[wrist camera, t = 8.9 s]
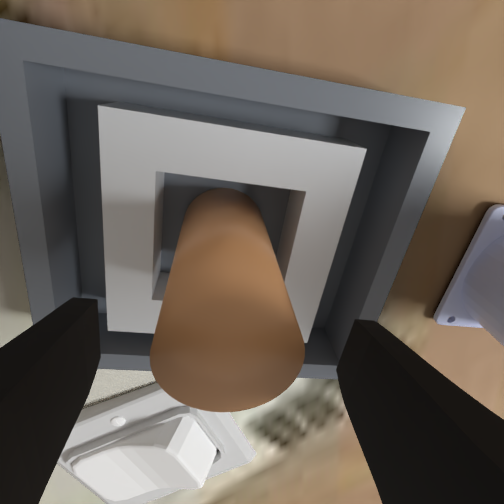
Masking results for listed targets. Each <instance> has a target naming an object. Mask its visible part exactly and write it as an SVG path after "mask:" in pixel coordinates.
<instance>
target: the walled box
mask: <svg viewBox="0 0 504 504" xmlns="http://www.w3.org/2000/svg"><path fill="white" fill-rule="evenodd" d="M465 109H466V108H465V107H460V106H455V105H450V104H445V103H439V102H434V101H429V100H424V99H418V98H413V97H408V96H403V95H398V94H392V93H387V92H382V91H377V90H372V89H366V88H361V87H356V86H351V85H346V84H340V83H335V82H330V81H325V80H319V79H314V78H309V77H304V76H299V75H293V74H288V73H283V72H278V71H273V70H267V69H262V68H257V67H252V66H247V65H241V64H236V63H231V62H226V61H221V60H215V59H210V58H205V57H200V56H194V55H189V54H184V53H179V52H174V51H168V50H163V49H158V48H153V47H148V46H142V45H137V44H132V43H127V42H122V41H116V40H111V39H106V38H101V37H95V36H90V35H85V34H80V33H75V32H69V31H64V30H59V29H54V28H49V27H43V26H38V25H33V24H28V23H23V22H17V21H12V20H7V19H2V18H0V135H1V140H2V146H3V152H4V158H5V164H6V170H7V175H8V181H9V187H10V193H11V199H12V205H13V210H14V216H15V222H16V228H17V234H18V240H19V245H20V251H21V257H22V263H23V269H24V275H25V280H26V286H27V292H28V298H29V304H30V310H31V315H32V321H33V325H34V324H36V323H37V322H38V321H40V320H41V319H43V318H44V317H45V316H47V315H48V314H50V313H51V312H52V311H54V310H55V309H57V308H58V307H59V306H61V305H62V304H64V303H65V302H66V301H68V300H69V299H71V298H72V297H77V298H89V299H98V316H99V334H100V351H101V359H100V362H99V365H98V368H97V369H116V370H139V371H152V370H151V366H150V349H151V345H152V341H153V337H154V333H155V329H156V325H157V321H158V318H159V314H160V310H161V306H162V302H163V298H164V294H165V290H166V286H167V282H168V278H169V274H170V270H171V266H172V263H173V259H174V255H175V251H176V247H177V243H178V239H179V235H180V231H181V227H182V223H183V219H184V216H185V212H186V210H187V208H188V206H189V205H190V203H191V202H192V201H193V200H194V199H195V198H196V197H197V196H199V195H200V194H202V193H204V192H206V191H208V190H211V189H216V188H230V189H235V190H238V191H240V192H242V193H244V194H246V195H247V196H249V197H250V198H251V199H252V200H253V201H254V202H255V203H256V205H257V206H258V208H259V210H260V212H261V214H262V217H263V220H264V223H265V226H266V229H267V232H268V235H269V238H270V241H271V244H272V247H273V250H274V253H275V256H276V259H277V262H278V265H279V268H280V271H281V274H282V277H283V280H284V283H285V286H286V289H287V292H288V295H289V298H290V301H291V304H292V307H293V310H294V313H295V316H296V319H297V322H298V325H299V328H300V331H301V334H302V337H303V340H304V345H305V358H304V362H303V366H302V368H301V371H300V373H299V374H298V376H297V378H319V379H338V376H337V372H336V368H337V365H338V363H339V360H340V357H341V355H342V352H343V350H344V347H345V344H346V342H347V339H348V336H349V334H350V331H351V328H352V326H353V323H354V320H355V319H361V320H374V321H376V322H377V320H378V318H379V316H380V313H381V311H382V308H383V306H384V304H385V301H386V299H387V296H388V294H389V292H390V289H391V287H392V284H393V282H394V280H395V277H396V275H397V272H398V270H399V268H400V265H401V263H402V260H403V258H404V256H405V253H406V251H407V248H408V246H409V244H410V241H411V239H412V236H413V234H414V232H415V229H416V227H417V224H418V222H419V220H420V217H421V215H422V212H423V210H424V208H425V205H426V203H427V200H428V198H429V195H430V193H431V191H432V188H433V186H434V183H435V181H436V179H437V176H438V174H439V171H440V169H441V167H442V164H443V162H444V159H445V157H446V155H447V152H448V150H449V147H450V145H451V143H452V140H453V138H454V135H455V133H456V131H457V128H458V126H459V123H460V121H461V119H462V116H463V114H464V111H465Z"/></svg>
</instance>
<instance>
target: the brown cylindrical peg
mask: <svg viewBox="0 0 504 504" xmlns="http://www.w3.org/2000/svg"><path fill="white" fill-rule="evenodd" d="M304 358H305V345H304V340H303V337H302V334H301V331H300V328H299V325H298V322H297V319H296V316H295V313H294V310H293V307H292V304H291V301H290V298H289V295H288V292H287V289H286V286H285V283H284V280H283V277H282V274H281V271H280V268H279V265H278V262H277V259H276V256H275V253H274V250H273V247H272V244H271V241H270V238H269V235H268V232H267V229H266V226H265V223H264V220H263V217H262V214H261V212H260V210H259V208H258V206H257V205H256V203H255V202H254V201H253V200H252V199H251V198H250V197H249V196H247V195H246V194H244V193H242V192H240V191H238V190H235V189H230V188H216V189H211V190H208V191H206V192H204V193H202V194H200V195H199V196H197V197H196V198H195V199H194V200H193V201H192V202H191V203H190V205H189V206H188V208H187V210H186V212H185V216H184V219H183V223H182V227H181V231H180V235H179V239H178V243H177V247H176V251H175V255H174V259H173V263H172V266H171V270H170V274H169V278H168V282H167V286H166V290H165V294H164V298H163V302H162V306H161V310H160V314H159V318H158V321H157V325H156V329H155V333H154V337H153V341H152V345H151V349H150V366H151V370H152V373H153V375H154V378H155V380H156V381H157V383H158V384H159V386H160V387H161V388H162V389H163V390H164V391H165V392H166V393H167V394H168V395H169V396H171V397H172V398H174V399H175V400H177V401H178V402H180V403H182V404H184V405H187V406H190V407H192V408H196V409H199V410H204V411H210V412H235V411H242V410H247V409H250V408H254V407H257V406H260V405H262V404H265V403H267V402H269V401H271V400H272V399H274V398H276V397H277V396H279V395H280V394H281V393H283V392H284V391H285V390H286V389H287V388H288V387H289V386H290V385H291V384H292V383H293V382H294V380H295V379H296V378H297V376H298V374H299V373H300V371H301V368H302V366H303V362H304Z"/></svg>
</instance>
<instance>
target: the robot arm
mask: <svg viewBox="0 0 504 504" xmlns="http://www.w3.org/2000/svg"><path fill="white" fill-rule="evenodd" d="M503 215H504V205H501V204H495V205H493V206H491V207H490V208H489V209H488V210H487V212H486V213H485V215H484V217H483V219H482V221H481V223H480V225H479V227H478V229H477V231H476V233H475V235H474V237H473V239H472V241H471V243H470V245H469V247H468V249H467V251H466V253H465V255H464V257H463V259H462V261H461V263H460V265H459V267H458V269H457V271H456V273H455V275H454V277H453V279H452V280H451V282H450V284H449V286H448V288H447V290H446V292H445V294H444V296H443V298H442V300H441V302H440V304H439V306H438V308H437V310H436V312H435V314H434V317H433V318H434V320H435V321H436V322H437V323H438V324H440V325H451V326H464V327H477V328H484V329H486V330H487V331H488V332H489V333H490V334H491V335H492V336H493V337H494V338H495V339H496V340H497V341H499V342H500V343H501V344H502V345H503V346H504V217H503ZM449 317H450V318H449ZM100 359H101V351H100V334H99V316H98V299H89V298H77V297H72V298H71V299H69V300H68V301H66V302H65V303H64V304H62V305H61V306H59V307H58V308H57V309H55V310H54V311H52V312H51V313H50V314H48V315H47V316H45V317H44V318H43V319H41V320H40V321H38V322H37V323H36V324H34V325H33V326H31V327H30V328H29V329H27V330H26V331H24V332H23V333H21V334H20V335H18V336H17V337H16V338H14V339H13V340H11V341H10V342H8V343H7V344H5V345H4V346H3V347H1V348H0V504H39V501H40V499H41V497H42V494H43V492H44V490H45V487H46V485H47V483H48V481H49V479H50V477H51V474H52V472H53V470H54V468H55V466H56V464H57V462H58V460H59V457H60V455H61V453H62V451H63V449H64V447H65V445H66V442H67V440H68V438H69V436H70V434H71V432H72V430H73V428H74V425H75V423H76V421H77V419H78V417H79V415H80V412H81V410H82V408H83V406H84V404H85V402H86V399H87V397H88V395H89V392H90V389H91V386H92V383H93V380H94V378H95V374H96V371H97V368H98V365H99V362H100ZM336 372H337V376H338V381H339V385H340V389H341V393H342V397H343V400H344V404H345V407H346V409H347V412H348V415H349V417H350V420H351V423H352V425H353V428H354V430H355V433H356V435H357V438H358V441H359V443H360V446H361V448H362V451H363V453H364V456H365V458H366V461H367V463H368V466H369V469H370V471H371V474H372V476H373V479H374V481H375V484H376V487H377V489H378V492H379V495H380V498H381V501H382V504H504V420H503V419H502V418H500V417H499V416H498V415H496V414H495V413H493V412H492V411H490V410H489V409H488V408H486V407H485V406H483V405H482V404H481V403H479V402H478V401H477V400H475V399H474V398H473V397H471V396H470V395H469V394H467V393H466V392H465V391H463V390H462V389H461V388H459V387H458V386H457V385H455V384H454V383H453V382H451V381H450V380H449V379H448V378H446V377H445V376H444V375H443V374H441V373H440V372H439V371H437V370H436V369H435V368H434V367H432V366H431V365H430V364H429V363H427V362H426V361H425V360H424V359H423V358H421V357H420V356H419V355H418V354H416V353H415V352H414V351H413V350H412V349H410V348H409V347H408V346H407V345H405V344H404V343H403V342H402V341H400V340H399V339H398V338H397V337H395V336H394V335H393V334H392V333H390V332H389V331H388V330H387V329H385V328H384V327H383V326H381V325H380V324H379V323H377V322H376V321H374V320H361V319H355V320H354V323H353V326H352V328H351V331H350V334H349V336H348V339H347V342H346V344H345V347H344V350H343V352H342V355H341V357H340V360H339V363H338V365H337V368H336Z"/></svg>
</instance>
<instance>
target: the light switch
mask: <svg viewBox="0 0 504 504" xmlns="http://www.w3.org/2000/svg"><path fill="white" fill-rule="evenodd" d="M217 448H218V451H217ZM255 456H256V452H255V450H254V449H253V447H252V446H251V444H250V443H249V441H248V440H247V438H246V436H245V435H244V433H243V432H242V430H241V429H240V427H239V426H238V424H237V423H236V421H235V420H234V418H233V417H232V415H231V414H230V412H210V411H204V410H199V409H196V408H192V407H190V406H187V405H184V404H182V403H180V402H178V401H177V400H175V399H174V398H172V397H171V396H169V395H168V394H167V393H166V392H165V391H164V390H163V389H162V388H161V387H160V386H159V384H158V383H154V384H152V385H149V386H146V387H143V388H140V389H138V390H135V391H132V392H129V393H126V394H124V395H121V396H118V397H115V398H112V399H110V400H107V401H104V402H101V403H98V404H96V405H93V406H90V407H87V408H84V409H82V410H81V412H80V415H79V417H78V419H77V421H76V423H75V425H74V428H73V430H72V432H71V434H70V436H69V438H68V440H67V442H66V445H65V447H64V449H63V451H62V453H61V455H60V457H59V460H58V462H57V464H58V465H59V466H61V467H62V468H63V469H64V470H66V471H67V472H68V473H69V474H70V475H72V476H73V477H74V478H75V479H77V480H78V481H79V482H80V483H81V484H83V485H84V486H85V487H86V488H88V489H89V490H90V491H91V492H93V493H94V494H95V495H96V496H97V497H99V498H100V499H101V500H102V501H104V502H105V503H106V504H145V503H148V502H150V501H153V500H156V499H158V498H161V497H163V496H166V495H168V494H171V493H173V492H176V491H178V490H181V489H192V490H194V489H199V488H201V487H202V486H203V484H204V482H205V480H206V479H209V478H211V477H214V476H216V475H219V474H222V473H224V472H227V471H229V470H232V469H234V468H237V467H239V466H242V465H244V464H247V463H250V462H251V460H252V459H253V458H254V457H255Z"/></svg>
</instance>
